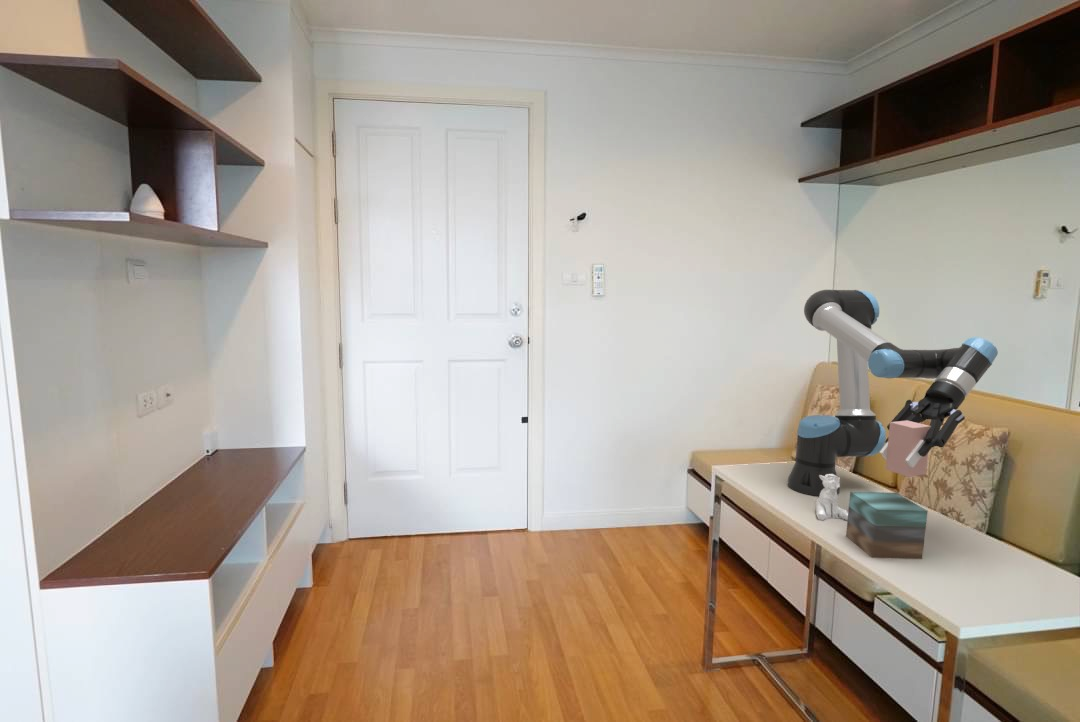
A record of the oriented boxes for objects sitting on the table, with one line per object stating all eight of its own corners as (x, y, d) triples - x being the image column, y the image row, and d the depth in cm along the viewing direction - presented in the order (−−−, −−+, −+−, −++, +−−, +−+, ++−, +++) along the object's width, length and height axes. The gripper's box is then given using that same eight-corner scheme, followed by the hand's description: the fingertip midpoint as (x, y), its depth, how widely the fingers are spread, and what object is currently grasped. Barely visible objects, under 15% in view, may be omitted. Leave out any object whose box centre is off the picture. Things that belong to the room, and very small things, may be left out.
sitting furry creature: (818, 520, 159) (822, 479, 157) (803, 508, 168) (807, 469, 166) (852, 521, 159) (856, 479, 158) (836, 509, 168) (839, 470, 166)
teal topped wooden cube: (846, 535, 149) (850, 491, 148) (892, 537, 149) (896, 492, 148) (871, 557, 138) (877, 509, 136) (922, 558, 137) (927, 510, 136)
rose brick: (885, 469, 142) (890, 422, 141) (902, 466, 145) (907, 420, 143) (908, 477, 137) (913, 428, 135) (925, 474, 139) (931, 426, 137)
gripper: (996, 407, 135) (941, 481, 131) (918, 392, 153) (868, 457, 149) (984, 386, 132) (928, 461, 129) (906, 373, 150) (855, 439, 146)
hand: (896, 459), depth 139 cm, fingers closed on rose brick, 6 cm apart
